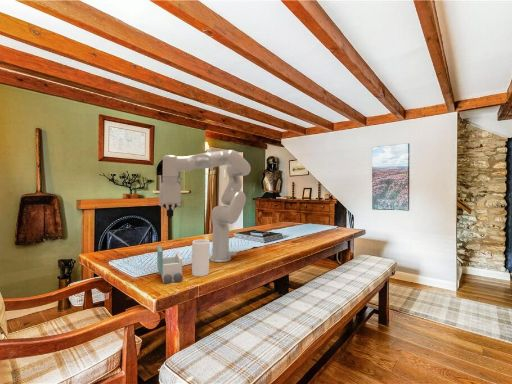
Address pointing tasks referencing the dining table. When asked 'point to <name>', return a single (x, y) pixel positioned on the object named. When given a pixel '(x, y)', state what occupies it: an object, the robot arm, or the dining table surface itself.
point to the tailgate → (160, 259)
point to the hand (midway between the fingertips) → (169, 217)
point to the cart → (172, 269)
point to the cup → (200, 257)
